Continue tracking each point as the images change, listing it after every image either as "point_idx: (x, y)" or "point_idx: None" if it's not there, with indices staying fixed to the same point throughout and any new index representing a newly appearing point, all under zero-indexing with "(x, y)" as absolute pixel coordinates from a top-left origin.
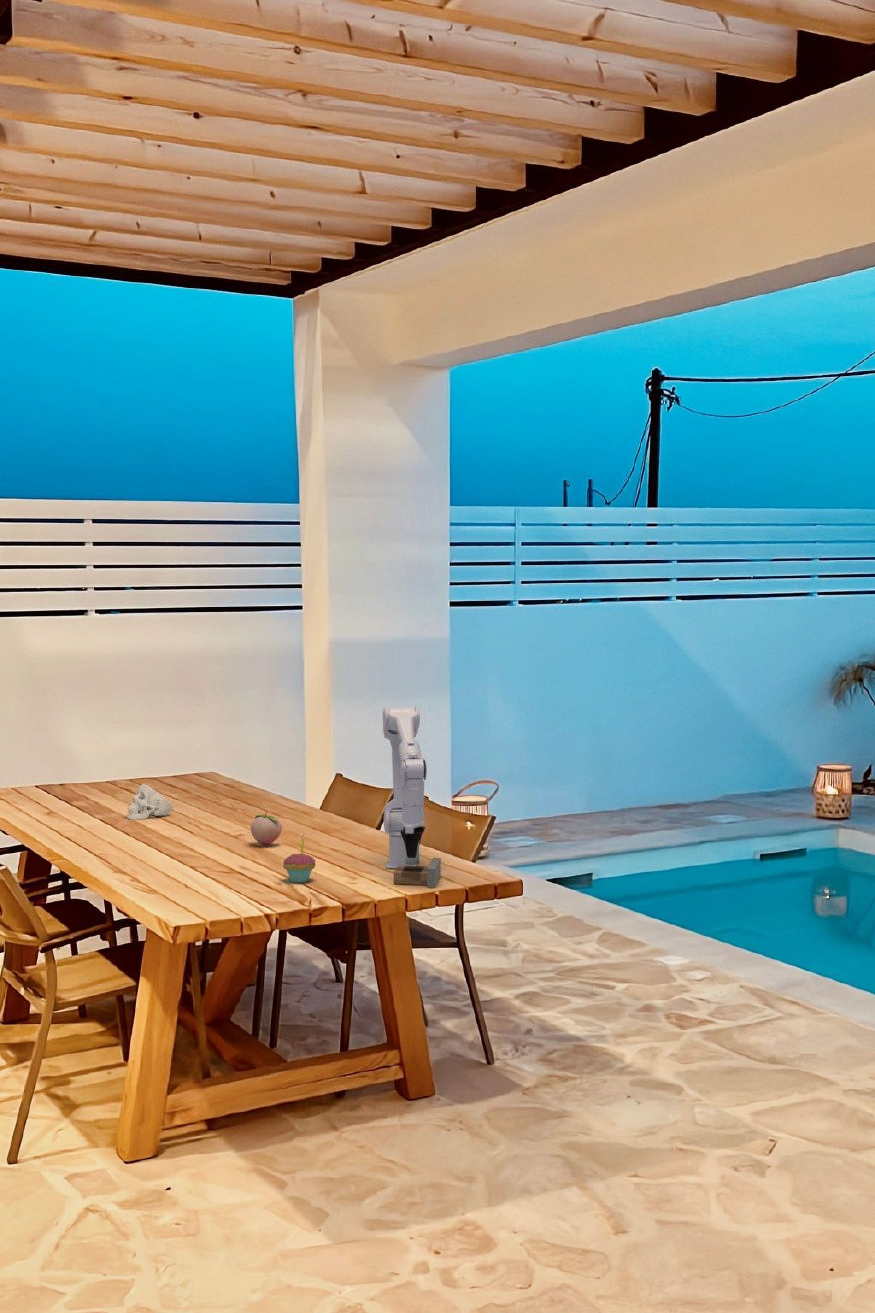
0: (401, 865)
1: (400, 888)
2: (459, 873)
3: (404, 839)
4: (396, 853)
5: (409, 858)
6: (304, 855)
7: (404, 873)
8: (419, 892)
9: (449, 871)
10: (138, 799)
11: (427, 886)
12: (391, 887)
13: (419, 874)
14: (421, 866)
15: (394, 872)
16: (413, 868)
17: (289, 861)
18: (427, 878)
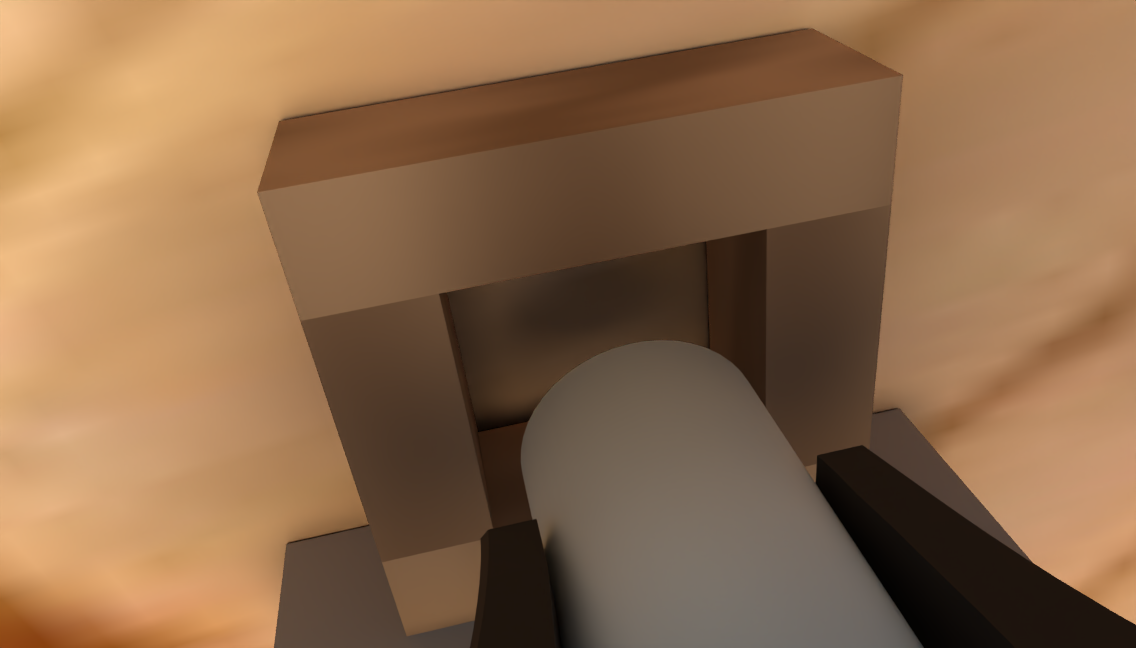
0: (888, 130)
1: (89, 289)
2: (1036, 560)
3: None
4: None
5: (544, 522)
6: None
7: (316, 361)
8: (12, 554)
9: (1128, 464)
10: None
11: (288, 561)
12: (74, 146)
13: (379, 539)
14: (842, 425)
15: (262, 205)
16: (759, 342)
17: None
18: (279, 640)
